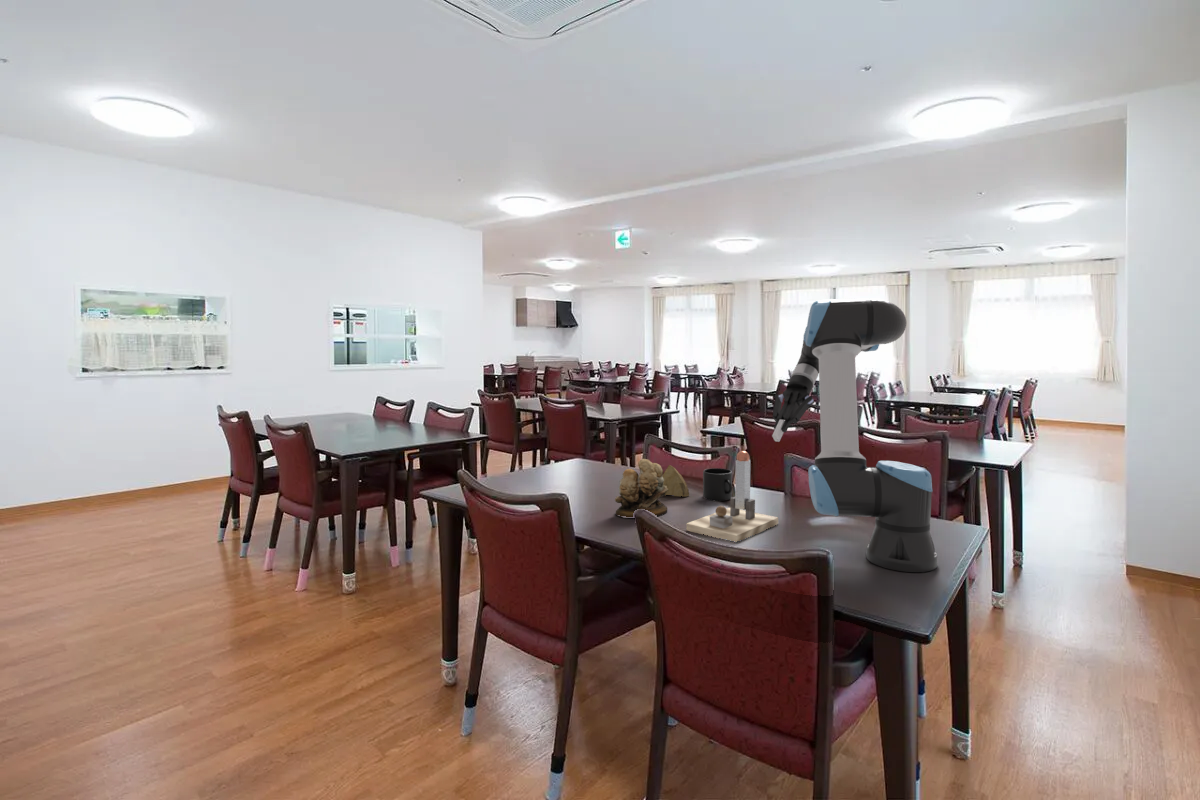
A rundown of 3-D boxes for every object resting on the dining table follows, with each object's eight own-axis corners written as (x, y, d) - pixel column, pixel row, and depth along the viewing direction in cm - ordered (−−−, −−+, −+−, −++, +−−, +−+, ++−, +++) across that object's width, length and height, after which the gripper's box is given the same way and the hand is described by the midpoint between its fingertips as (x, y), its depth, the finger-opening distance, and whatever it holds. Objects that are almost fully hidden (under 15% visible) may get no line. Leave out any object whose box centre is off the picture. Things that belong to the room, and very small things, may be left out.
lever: (740, 505, 180) (740, 449, 178) (751, 507, 177) (752, 450, 176) (733, 508, 177) (734, 451, 176) (744, 510, 175) (745, 452, 173)
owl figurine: (656, 504, 200) (656, 452, 198) (677, 513, 189) (678, 458, 188) (607, 512, 191) (607, 458, 189) (627, 522, 181) (628, 464, 179)
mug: (719, 504, 198) (720, 476, 198) (697, 496, 209) (697, 470, 208) (742, 500, 203) (743, 473, 202) (719, 492, 213) (719, 467, 213)
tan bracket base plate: (729, 513, 188) (730, 489, 187) (778, 524, 176) (778, 498, 176) (686, 530, 172) (686, 504, 171) (736, 543, 161) (736, 515, 160)
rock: (698, 489, 209) (681, 479, 218) (687, 471, 205) (670, 462, 214) (675, 510, 207) (659, 500, 215) (663, 493, 203) (647, 483, 211)
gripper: (825, 389, 197) (799, 448, 187) (787, 388, 206) (760, 444, 196) (818, 374, 193) (791, 433, 182) (779, 372, 202) (752, 429, 191)
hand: (775, 438), depth 189 cm, fingers closed
